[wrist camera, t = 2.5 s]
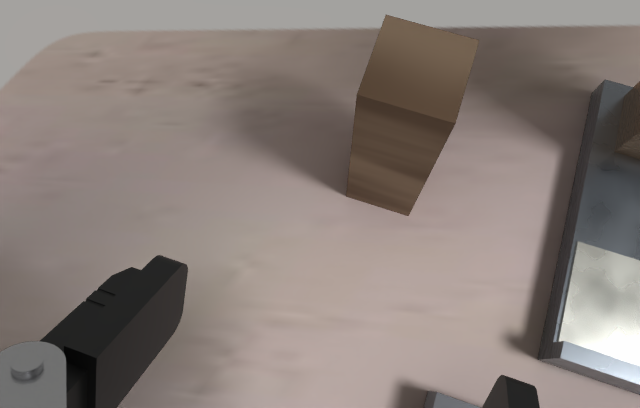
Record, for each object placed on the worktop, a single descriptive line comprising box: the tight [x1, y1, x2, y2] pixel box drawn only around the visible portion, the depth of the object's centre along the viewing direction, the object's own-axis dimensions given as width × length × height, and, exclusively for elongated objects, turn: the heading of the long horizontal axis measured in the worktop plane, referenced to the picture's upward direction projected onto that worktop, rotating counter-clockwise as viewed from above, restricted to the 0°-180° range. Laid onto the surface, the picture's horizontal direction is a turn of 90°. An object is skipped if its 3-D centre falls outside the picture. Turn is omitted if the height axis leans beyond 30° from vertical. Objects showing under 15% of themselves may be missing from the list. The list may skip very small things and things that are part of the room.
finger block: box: [346, 15, 479, 216], centre depth 24 cm, size 4×4×11 cm
